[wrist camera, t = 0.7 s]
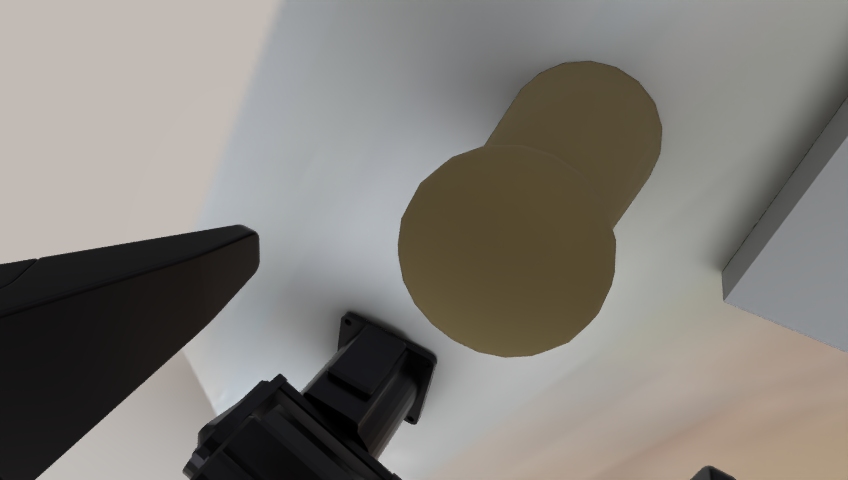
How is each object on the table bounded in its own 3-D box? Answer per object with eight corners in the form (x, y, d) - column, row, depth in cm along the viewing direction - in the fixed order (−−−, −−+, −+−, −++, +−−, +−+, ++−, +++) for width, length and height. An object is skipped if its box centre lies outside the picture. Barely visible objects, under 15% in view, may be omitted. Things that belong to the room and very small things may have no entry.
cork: (510, 54, 18) (348, 135, 10) (682, 67, 16) (662, 187, 8) (498, 196, 22) (366, 350, 13) (641, 225, 19) (595, 435, 11)
